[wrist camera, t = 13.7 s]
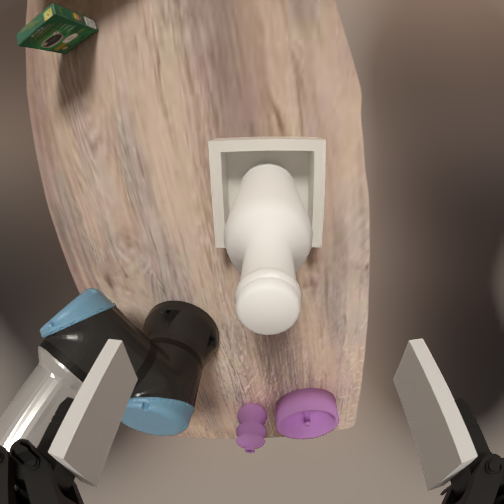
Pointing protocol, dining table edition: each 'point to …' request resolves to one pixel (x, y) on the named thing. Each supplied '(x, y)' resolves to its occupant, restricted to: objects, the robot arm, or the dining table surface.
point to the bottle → (268, 248)
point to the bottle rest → (260, 151)
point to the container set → (289, 418)
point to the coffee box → (56, 30)
